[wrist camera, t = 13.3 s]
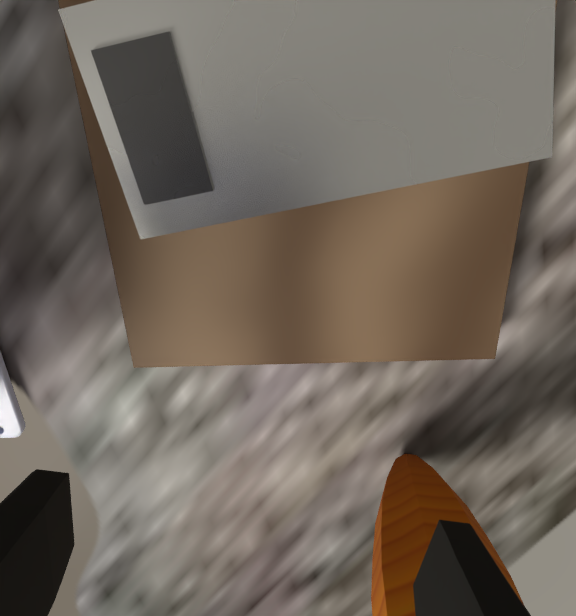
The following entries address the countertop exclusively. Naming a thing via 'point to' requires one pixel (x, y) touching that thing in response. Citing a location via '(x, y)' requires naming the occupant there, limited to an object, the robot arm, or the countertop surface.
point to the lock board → (317, 272)
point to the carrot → (413, 532)
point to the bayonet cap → (308, 98)
